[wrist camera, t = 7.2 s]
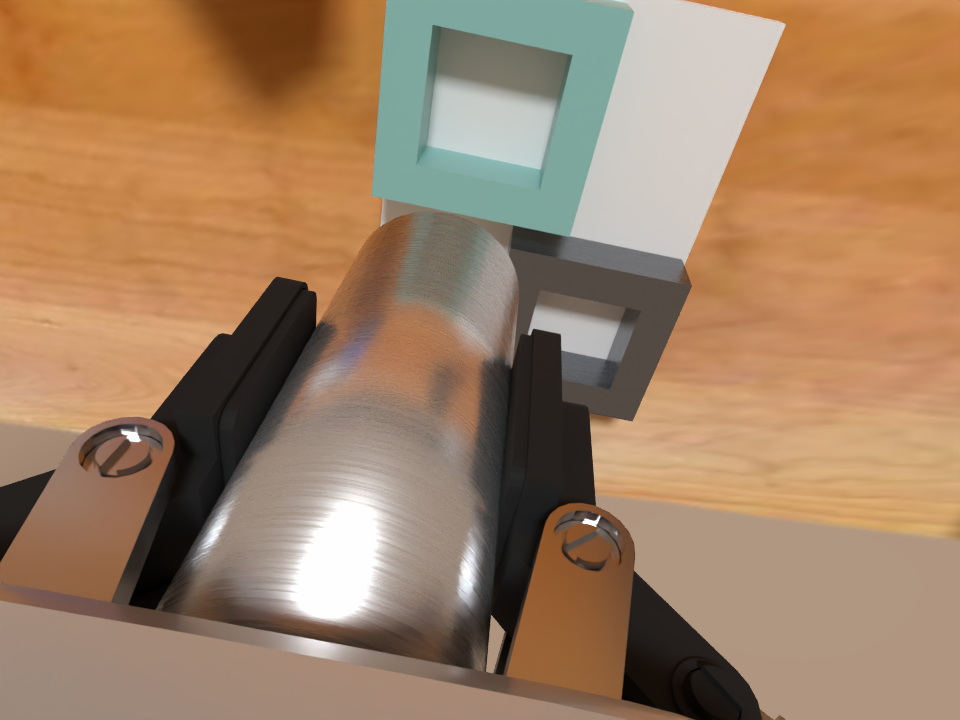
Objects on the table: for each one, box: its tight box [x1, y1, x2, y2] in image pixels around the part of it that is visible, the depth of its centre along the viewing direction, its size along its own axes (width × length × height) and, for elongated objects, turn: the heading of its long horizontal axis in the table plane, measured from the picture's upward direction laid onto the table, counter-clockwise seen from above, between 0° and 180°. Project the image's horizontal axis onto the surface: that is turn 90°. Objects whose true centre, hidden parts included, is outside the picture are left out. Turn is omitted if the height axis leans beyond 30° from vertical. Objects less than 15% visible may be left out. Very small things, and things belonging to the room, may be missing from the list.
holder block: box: [507, 225, 692, 421], centre depth 36 cm, size 10×10×3 cm
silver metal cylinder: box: [156, 212, 519, 672], centre depth 11 cm, size 4×4×10 cm
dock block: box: [372, 0, 634, 237], centre depth 29 cm, size 10×10×3 cm
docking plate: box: [380, 0, 786, 360], centre depth 34 cm, size 17×22×1 cm
